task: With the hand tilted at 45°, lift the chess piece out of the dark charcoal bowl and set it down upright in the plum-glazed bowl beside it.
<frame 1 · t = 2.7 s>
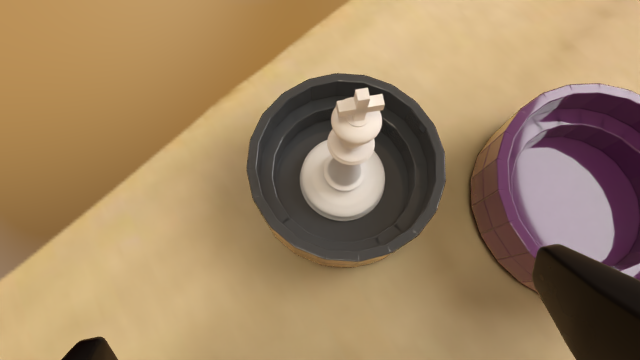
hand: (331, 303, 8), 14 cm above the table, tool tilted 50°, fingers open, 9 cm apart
plum bowl: (563, 204, 24), on the table
chess piece: (342, 180, 24), resting on charcoal bowl
charcoal bowl: (341, 180, 24), on the table
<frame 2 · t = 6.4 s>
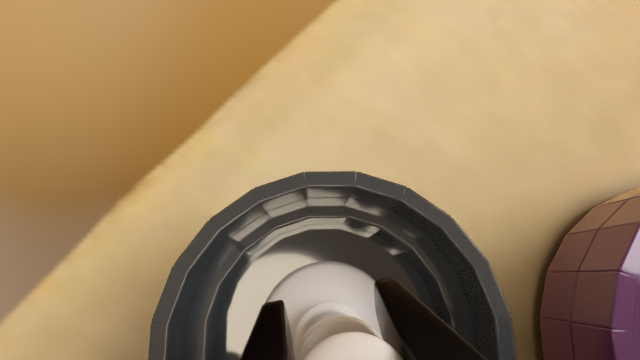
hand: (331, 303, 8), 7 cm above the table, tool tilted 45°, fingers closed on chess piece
chess piece: (328, 332, 14), resting on charcoal bowl, touching gripper
charcoal bowl: (328, 332, 14), on the table
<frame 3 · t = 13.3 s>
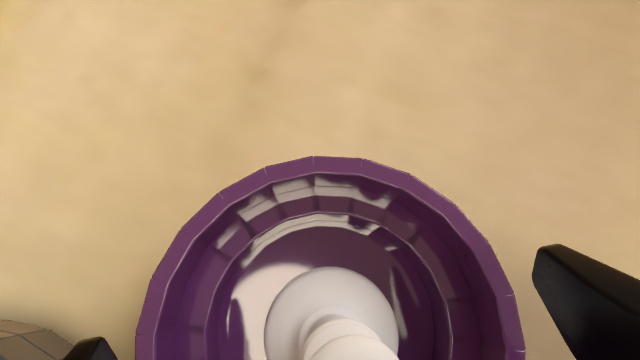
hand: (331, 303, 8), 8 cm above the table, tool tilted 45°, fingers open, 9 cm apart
plum bowl: (326, 326, 16), on the table
chess piece: (330, 334, 15), resting on plum bowl
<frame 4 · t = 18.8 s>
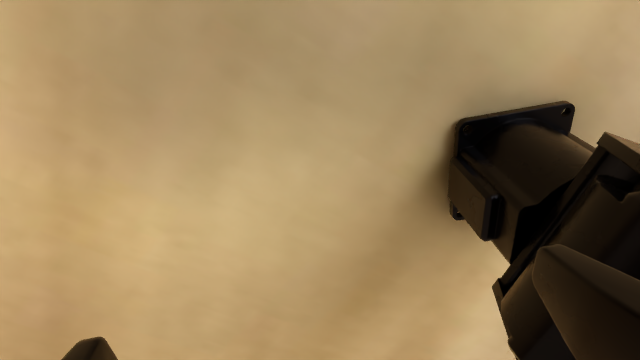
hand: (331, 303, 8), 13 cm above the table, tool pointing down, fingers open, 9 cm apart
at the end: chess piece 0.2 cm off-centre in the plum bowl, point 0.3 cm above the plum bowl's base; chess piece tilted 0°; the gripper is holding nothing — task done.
